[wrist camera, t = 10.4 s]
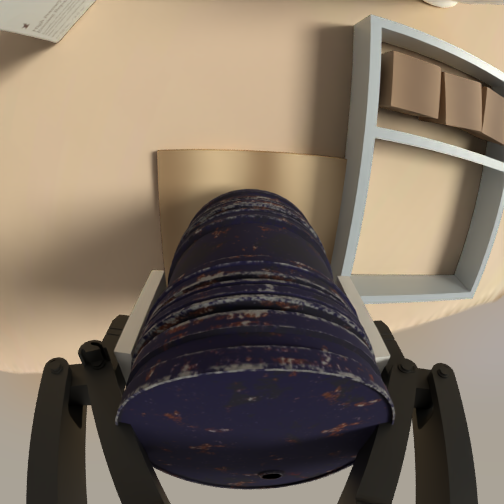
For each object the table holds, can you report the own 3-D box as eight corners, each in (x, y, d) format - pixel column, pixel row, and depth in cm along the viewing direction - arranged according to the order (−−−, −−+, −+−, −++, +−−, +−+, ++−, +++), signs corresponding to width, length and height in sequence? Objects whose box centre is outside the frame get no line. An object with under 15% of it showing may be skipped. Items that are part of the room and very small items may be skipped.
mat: (170, 304, 27) (169, 308, 26) (159, 150, 21) (157, 151, 20) (319, 308, 28) (320, 312, 27) (344, 158, 21) (347, 159, 21)
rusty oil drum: (163, 206, 20) (53, 375, 7) (304, 172, 19) (421, 318, 6) (206, 317, 24) (183, 491, 11) (323, 293, 24) (380, 466, 10)
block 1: (367, 105, 19) (390, 105, 16) (370, 57, 18) (393, 50, 14) (410, 115, 20) (437, 119, 16) (413, 70, 18) (441, 67, 14)
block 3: (453, 126, 20) (481, 132, 16) (458, 85, 18) (487, 86, 14) (480, 139, 20) (508, 147, 16) (486, 101, 18) (514, 105, 15)
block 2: (418, 120, 20) (445, 124, 16) (416, 74, 18) (444, 71, 14) (453, 125, 20) (481, 131, 16) (452, 82, 18) (481, 83, 14)
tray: (324, 281, 26) (334, 304, 23) (353, 25, 16) (370, 14, 13) (456, 281, 27) (472, 298, 24) (496, 81, 17) (519, 83, 14)
